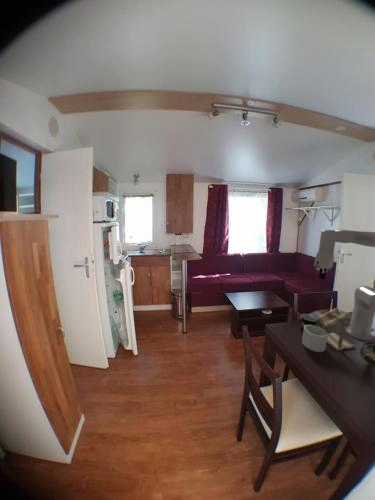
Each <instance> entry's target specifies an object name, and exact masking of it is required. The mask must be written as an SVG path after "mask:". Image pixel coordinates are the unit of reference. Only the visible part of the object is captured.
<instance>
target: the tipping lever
mask: <svg viewBox="0 0 375 500" xmlns="http://www.w3.org/2000/svg"><path fill="white" fill-rule="evenodd" d="M326 312H327V313H325V314H324V313H320V312H318V311H317V310H314V311H313V312H311V313H309V314H308V313H307V314H308V316H309V317H310V318H312V319H314V320H315V321H317V322H319V323H320V324H321V325H322V324H323V325H325V327H327V328H329V327H330V326H333V325H335V324H337V323H338V322H339V323H341V324H342V322H346V323H348V322H351V318H352V315H351V314H350V312H346V311H344V310H342V309H341V310H339V307H334V308H333V309H331V310H329V311H326Z"/></svg>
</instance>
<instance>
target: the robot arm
mask: <svg viewBox="0 0 375 500" xmlns="http://www.w3.org/2000/svg"><path fill="white" fill-rule="evenodd" d="M336 243H341V244H349V243H350V244H356V245H360V246H364V247H369V248H375V232H374V231H359V230H357V231H356V230H349V229H340V228H338V229H333V230H332V229H322V230H321V232H320V239H319V244H318V246H319V247H318V251H317V252H316V255H315V259H314V264H313V266H314V267H315V270H317V271H318V279H321V280H326V278H327V273H328V272H329V270H331V269H332V268H333V267H334V262H335V260H334V259H335V245H336ZM373 287H375V280H374V281H373ZM373 287H371V286H367V285H360V286H358V287H357V288H356V289H355V291H354V303H353V304H354V305H353V309H352V312H351V321H350V324H349V326H348V327H347V326H346V328H345V331H346V333H347V334H348V335H349V336H351V337H354V338H355V339H358V340H362V341H369V342H370V341H372V340H373V338H374V336H373V335H372V334H371V333H372V332H373V333H374V332H375V329H374V328H373V327H372V326H373V321H374V317H375V288H373Z"/></svg>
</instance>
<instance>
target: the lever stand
mask: <svg viewBox="0 0 375 500" xmlns="http://www.w3.org/2000/svg"><path fill="white" fill-rule="evenodd" d="M327 312H328V311H325V310H323V311H322V314H325V313H327ZM348 325H349V324H348V322H347V323H346V322H342V323H341V327H340V333H339V334H337V333H335V332H329V333H328V332H327V334H328V338H327V343H326V344H328V345H329V346H331V347H332V348H333V349H335V351H342V350H348V349H354V348H355V345H354V344H353V343H351V342H350V341H348V340H347V339H345V338H344V336H345V331H346V328H347V326H348ZM321 328H322V329H324V330H325V329H326V326H325V325H323V324H322V323H321ZM325 331H326V330H325Z"/></svg>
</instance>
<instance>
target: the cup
mask: <svg viewBox="0 0 375 500" xmlns="http://www.w3.org/2000/svg"><path fill="white" fill-rule="evenodd" d="M321 327H322V326H321ZM321 327H320V326H317V325H316V326H314V325H304V331H303V332H302V337H301V338H302V340H301V344H302V345H303V346H304V347H305V348H306V349H308V350H309V351H312V352H314V353H323V352H324V351H325V352H326V348H327V344H328V343H327V338H328V331H327V330H324V329H322V328H321Z"/></svg>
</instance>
